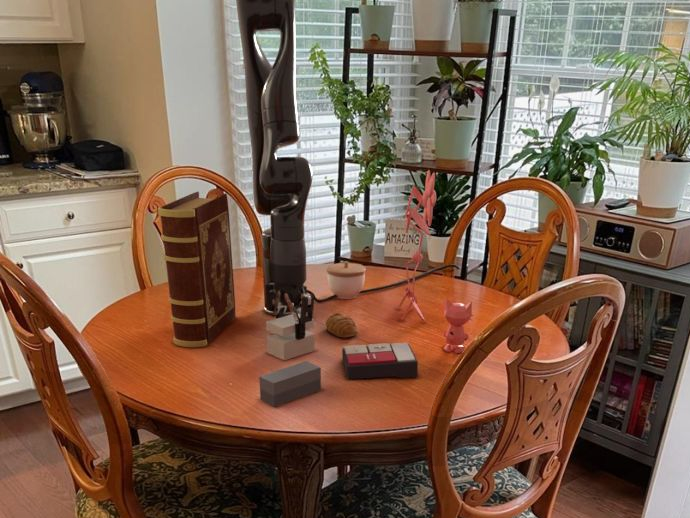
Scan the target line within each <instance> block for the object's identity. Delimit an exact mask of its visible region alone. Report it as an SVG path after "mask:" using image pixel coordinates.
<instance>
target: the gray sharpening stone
mask: <svg viewBox="0 0 690 518" xmlns="http://www.w3.org/2000/svg"><path fill="white" fill-rule="evenodd" d="M258 379H259V397H260V399H259V400H260V401H262V402H264V403H266V404H268V405H269V406H272V407H273V408H277V407H278V406H282V405H284V404H286V403H290V402H291V401H292V402H293V401H295V400H298V399H300V398H304V397H306V396H308V395H311V394H314V393H317V392H320V391H321V390H322V366H320V365H317V364H314V363H312V362H310V361H307V360H305V361H301V362H299V363H296V364H295V363H294V364H293V365H289V366H285V367H282V368H280V369H277V370H274V371H271V372H268V373H265V374H262V375H259V376H258Z"/></svg>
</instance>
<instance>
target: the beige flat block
mask: <svg viewBox="0 0 690 518" xmlns="http://www.w3.org/2000/svg"><path fill="white" fill-rule="evenodd" d="M298 316H299V318H300V316H301V315H300V313H298ZM311 329H315V319H314V318H312V321H309V322H306V323H305V331H308V330H311ZM265 330H266V331H268V332H271V333H272V334H278V335H280V336H283V337H284V336H288V335H291V334H295V320H294V316H293V314H292V315H288V316H284V317H280V318H277V319H276V318H273V319H269V320H266V321H265Z"/></svg>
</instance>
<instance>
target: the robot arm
mask: <svg viewBox="0 0 690 518" xmlns="http://www.w3.org/2000/svg"><path fill="white" fill-rule="evenodd" d="M235 2H236V3H235V4H236V12H237V21H238V27H239V34H240V41H241V51H242V58H243V66H244V78H245V79H244V80H245V81H244V83H245V101H246V112H247V113H246V115H247V124H248V130H249V139H250V149H251V167H252V198H253V204H254V208H255V211H256V212H257V214H258V215H261V216H269V223H270V227H269V228H267V229H264V230H263V231H262V233H261V236H260V238H261V257H262V258H261V259H262V260H261V261H262V279H263V282H262V283H263V298H264V299H263V300H264V301H263V302H264V303H263V304H264V307H263V309H264V313H266V314H268V315H270V316H275V319H277V318H280V317H284V316H288V315H292V314H293V316H294V320H295V339H297V340H301V339H304V337H305V331H306V330H305V323H306V322H309V321H312V319H313V316H314V305H315V302H316V303H324V302H328V301H330V300H333V299H335V298H337V297H338V296H337V295H335V294H333V295H331V296H328V297H326V298H324V299H319V298H317V296H316V295H315V294H314V292H313V291H311V290H308V288H307V287H308V286H307V285H304V284H305V282H306V281H307V247H306V239H305V235H306V234H305V216H306V208H307V203H308V199H309V196H310V192H311V188H312V185H313V184H312V183H313V178H314V177H313V174H314V173H313V168H312V165H311V163H310V162H309V160H308V159H307V158H305V157H303V156H277V152H278V150H280V149H282V148H286V147H290V146H293V145H295V144H297V143H298V142H299V139H300V126H299V116H298V106H297V104H298V103H297V91H296V90H297V89H296V80H297V79H296V77H297V76H296V74H297V23H296V21H297V20H296V19H297V18H296V16H297V15H296V0H235ZM258 32H259V33H260V32H279V35H280V37H279V48H278V50H277V54H276V57H275V60H274V63H273V65H271V63H270V61H269V60H268V58H267V56H266V54H265V53H264V51H263V49H262V46H261V44H260V43H259V39H258V36H257V33H258ZM447 268H455V269H457V270H461V268H460V267H459V265H457V264H456V263H455V264H454V263H449V264H446V265H443V266H440V267H435V268H432V269H430V270H427V271H425V272H422V273H420V274H417V275H415V280H417V279H419V278H422V277H424V276H427V275H428V274H429V275H430V274H431V273H433V272H438V271H442V270H444V269H447ZM411 281H413V276H412V277H409V282H411ZM405 283H408V279H407V278H406V279H404V280H401V281H398V282H394V283H391V284H387V285H382V286H379V287H374V288H373V287H372V288H368V289H362V290H361V291H360V293H359V294H358V295H361V294H367V293H371V292H376V291H382V290H386V289H389V288H393V287H396V286H399V285H404V284H405ZM298 314H300V315H301V316H300V318H299V316H298Z"/></svg>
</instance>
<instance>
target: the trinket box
mask: <svg viewBox="0 0 690 518" xmlns="http://www.w3.org/2000/svg"><path fill="white" fill-rule="evenodd" d="M326 279H327V285H328V289H329V290H330V292H331V293H332V294H333V295H337V296H338V297H336V298H337V299H341V300H350V299H351V300H352V299H355V298H357V297H358V295H360V294H359V293H360V291H362V290H363V288H364V286H365V280H366V266H364V265H361V264H359V263H353V262H352V263H351V262H349V261H344V262H338V263H333V264H332V263H331V264H329V265H327V267H326Z"/></svg>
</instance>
